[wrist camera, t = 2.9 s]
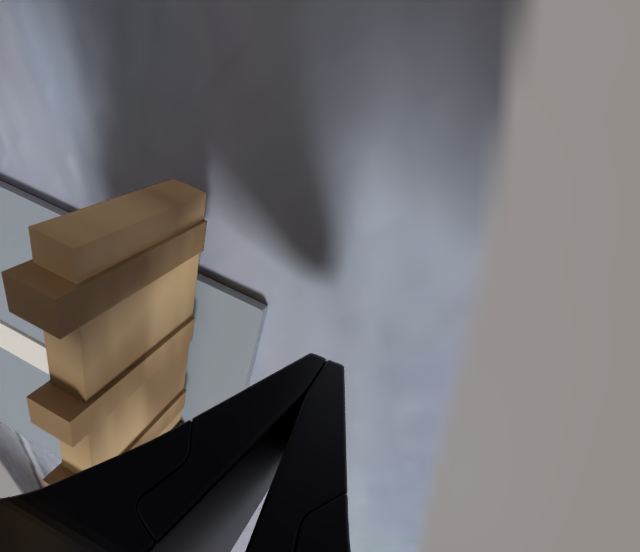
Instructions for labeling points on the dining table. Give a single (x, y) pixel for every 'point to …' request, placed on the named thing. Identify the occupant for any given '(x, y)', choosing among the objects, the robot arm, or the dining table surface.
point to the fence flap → (112, 319)
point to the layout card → (204, 350)
